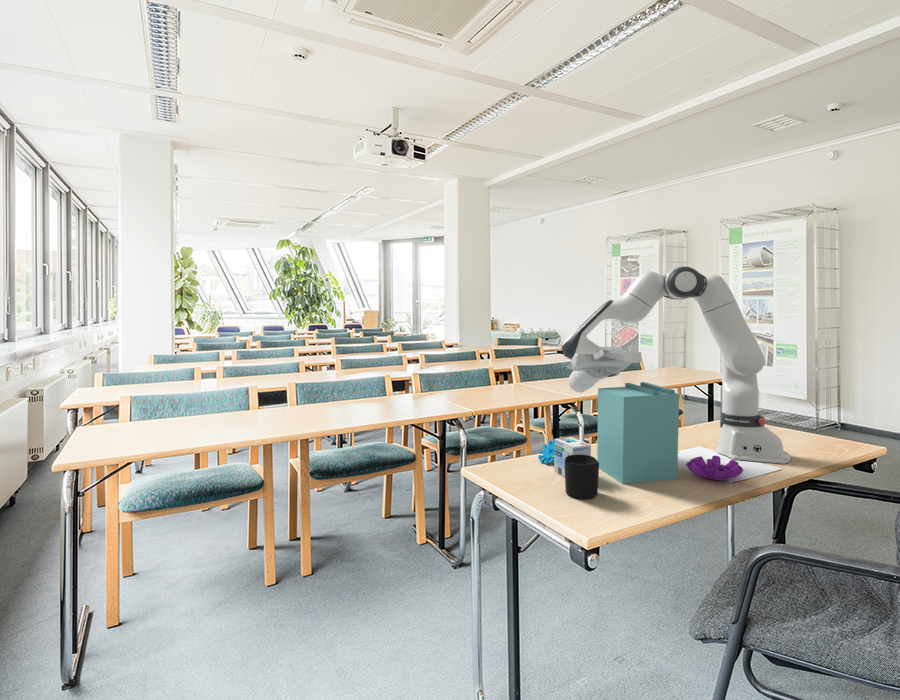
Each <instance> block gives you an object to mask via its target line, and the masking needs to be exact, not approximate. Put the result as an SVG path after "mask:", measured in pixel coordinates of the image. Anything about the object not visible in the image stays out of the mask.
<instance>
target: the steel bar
mask: <svg viewBox="0 0 900 700" xmlns="http://www.w3.org/2000/svg"><path fill="white" fill-rule="evenodd" d="M601 350H606V352H607V355H606V356H603V357H607V358H611V359H616V360H621V361H625V362H630V363H631V364H635V363H637V364H638V363H642V352H641V351H635V350H630V349H624V348H618V347H611V346H600V351H601Z"/></svg>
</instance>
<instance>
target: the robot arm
mask: <svg viewBox="0 0 900 700" xmlns="http://www.w3.org/2000/svg"><path fill="white" fill-rule="evenodd" d="M662 298H667V299H670V300H677V301H678V300H679V301H680V300H685V299H689V298H692V299H694V300H695V301H696V302H697V304H698V306H699V308H700V311H701V313H702V316H703V317H704V320H705V322H706V324H707V327H708V328H709V331H710V333H711V334H712V337H713V339H714V340H715V342H716V344H717V347H718V348H719V350H720V352H721V353H720V364H721V365H720V366H721V383H722V400H721V402H722V403H721V404H722V406H721V411H720V413H719V427H720V430H719V431H720V432H719V438H718V441H717V443H716V444H717V445H716V447H715V452H717V453H718V454H720V455H723V456H726V457H729V458H730V459H731V460H732V459H733V460H736V461H737V460H739V461H751V462H761V463H770V464H771V463H773V464H788V463H790V461H791V454H790V453H789V452H788V451H786V450H784V446H783V441H782V440H781V438H780V436H778V435H777V434H776V433H774V432H773V431H772V430H770V429H769V428H768V427H767V426H765V424H766V423H767V421H766V418H765V416H764V415H761V414H760V413H759V405H760V404H759V402H760V401H759V398H760V391H759V384H758V376H757V374H758V373H759V372H760V371H762V370H763V368H764V366H765V361H766V360H765V359H766V358H765V355H764V353H763V351H762V349H761V347H760V345H759V343H758V341H757V338H755V336H754V334H753V332H752V330H751V328H750V327H749V324H748V323H747V321H746V320H745V317H744V315H743V313H742V311H741V308H740V307H739V304H738V302H737V299H736V297H735V295H734V294H733V292H732V289H730V287H729V285H728V284H727V282H726V280H724V278H722V276H720V275H717V274H711V275H707V276H705V275H703V274H702V273H700V272H699V271H697V270H696V269H694V268H693V267H690V266H685V265H684V266H679V267H676V268H675V267H674V268H673V269H671V270H670V271H669V272H667V273H666V274H663V275H661V274H659V273H657V272H656V271H649V270H648V271H644V272H641V274H640V275H639V276H637V278H635V280H633V282H632V283H631V284H630V285H629V286H628V288H627V289H626V290H625V292H624V293H622V295H621V296H620V297H618V298H617V299H614V300H613V299H609V300H607V301H606V302H604V303H603V304H601V306H600V307H599V308H598V309H597V310H595V312H593V313H592V314H591V315H590V316H589V317H588V318H587V319H586V320H585V321H584V322H583V323H582V324H580V326H579V327H578V328H577V329H576V330H575V331H574V332H572V333H571V334H570V335H568V336H567V337H566V338H565V339H564V341H563V342H562V345H561V350H562V354H563V356H564V357H565V358H567V359H569V360H570V363H568V365H567V367H566V368H567V370H570V371H572V372H571V373H570V374H569V376H568V379H567V384H568V386H569V388H570V389H571V390H572V391H574V392H576V393H580V394H581V393H584V392H587V391H588V390H590V389H592V387H594V385H596V384H597V383H598V382H599V381H602V380H604V379H607V378H611V377H613V378H614V377H617V376H619V375H620V372H622V371H624V370H625V369H627V368H628V367H629V366H630V365H631V364H632V363H630V362H625V361H621V360H616V359H611V358H607V357H603V356H606V355H607V352H606V350H601V351H600V347H601V346H600V345H598V344H597V343H595V342H593V341H592V340H590V339H589V338H588V335H589V334H590V333H591V332H592V331H593V330H594V329H595V328H596V327H597V326H598V325H599V324H600V323H602V322H603V321H605V320H615V321H621V322H625V323H630V324H631V323H633V324H634V323H640V322H641V321H643V320H644V319H645V318H646V317H647V316H648V315H649V313H650V312H651V311H652V310H653V308H654V307H655V305H656V304H657V302H659V301H660V300H661V299H662Z"/></svg>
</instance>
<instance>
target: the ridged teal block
mask: <svg viewBox="0 0 900 700" xmlns="http://www.w3.org/2000/svg"><path fill="white" fill-rule="evenodd" d="M639 383H640V385H638V384H634V383H632V382H625V383H624V386H618V387H617V386H616V387H598V388H597V440H596V441H597V448H596V449H597V450H596V451H597V452H596V453H597V454H596V455H597V456H596V457H597V458H596V460H597V461H598V462H599V470H601V471H602V472H604V473H605V474H607V475H608V476H610V477H612V478H613V479H615V480H616V481H618V482H619V483H620V484H622V485H623V484H625V485H626V484H635V483H636V484H637V483H647V482H657V481H658V482H659V481H667V480H668V481H669V480H677V479H678V463H679V462H678V459H679V424H680V423H679V418H680V413H679V412H680V393H678V392H676V390H675V389H673V388H668V387H665V386H660V385H656V384H653V383H648V382H646V381H641V382H639Z"/></svg>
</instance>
